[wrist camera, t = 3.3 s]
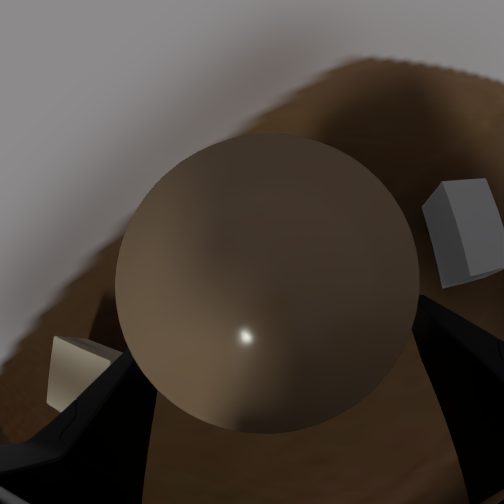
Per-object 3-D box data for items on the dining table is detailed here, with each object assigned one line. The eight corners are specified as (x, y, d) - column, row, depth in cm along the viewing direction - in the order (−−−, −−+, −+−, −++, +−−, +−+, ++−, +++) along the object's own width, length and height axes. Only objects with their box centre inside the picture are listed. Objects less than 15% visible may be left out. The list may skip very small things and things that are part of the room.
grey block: (482, 278, 17) (513, 264, 13) (441, 289, 17) (470, 276, 13) (461, 202, 19) (485, 178, 15) (420, 207, 19) (442, 181, 15)
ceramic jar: (307, 377, 17) (337, 477, 4) (228, 341, 18) (76, 335, 5) (342, 297, 18) (446, 194, 5) (264, 264, 19) (200, 110, 6)
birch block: (132, 422, 18) (101, 434, 14) (80, 398, 18) (46, 403, 15) (142, 358, 19) (110, 360, 15) (88, 339, 20) (54, 335, 16)
